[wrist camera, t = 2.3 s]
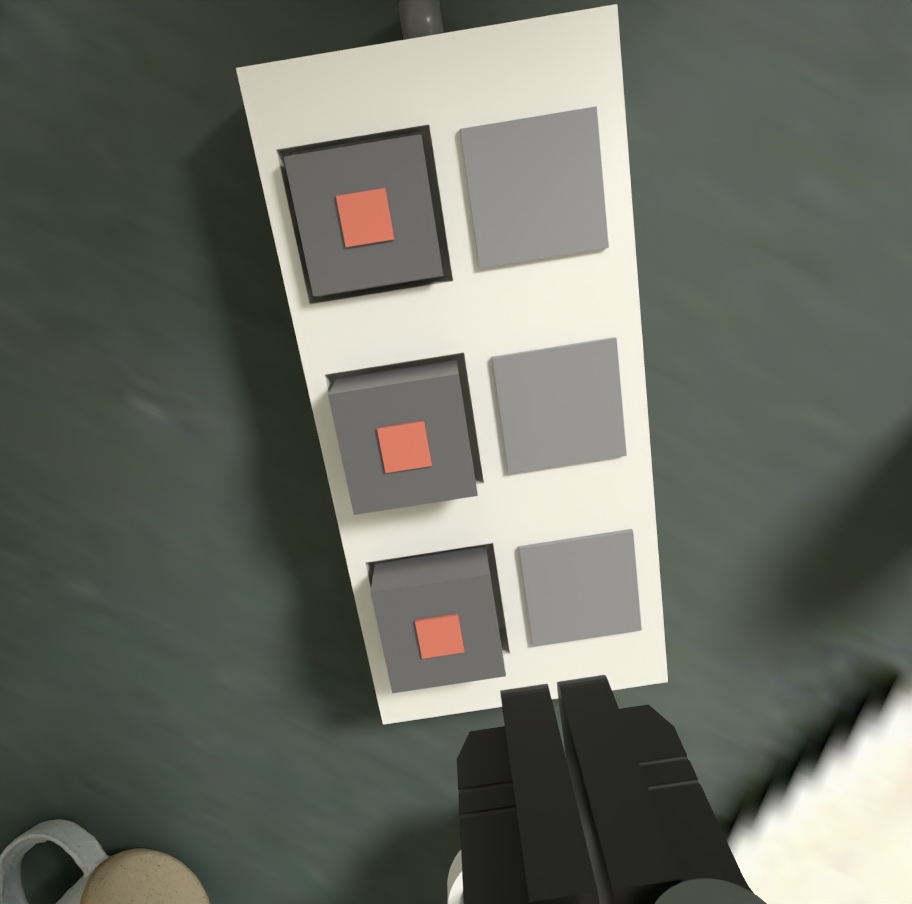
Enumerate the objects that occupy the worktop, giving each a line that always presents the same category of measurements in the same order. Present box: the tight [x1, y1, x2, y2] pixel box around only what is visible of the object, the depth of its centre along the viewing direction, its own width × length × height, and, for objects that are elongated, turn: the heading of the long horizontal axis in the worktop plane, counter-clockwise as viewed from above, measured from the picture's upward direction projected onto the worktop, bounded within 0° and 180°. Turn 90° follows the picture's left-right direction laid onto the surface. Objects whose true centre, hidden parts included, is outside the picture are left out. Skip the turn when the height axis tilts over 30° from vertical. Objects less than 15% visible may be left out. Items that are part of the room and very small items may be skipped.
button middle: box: [328, 359, 478, 515], centre depth 27 cm, size 4×4×2 cm
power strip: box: [236, 0, 668, 724], centre depth 29 cm, size 27×12×4 cm, turn 9°
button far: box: [371, 545, 506, 693], centre depth 29 cm, size 4×4×2 cm
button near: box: [284, 134, 443, 297], centre depth 25 cm, size 4×4×2 cm
